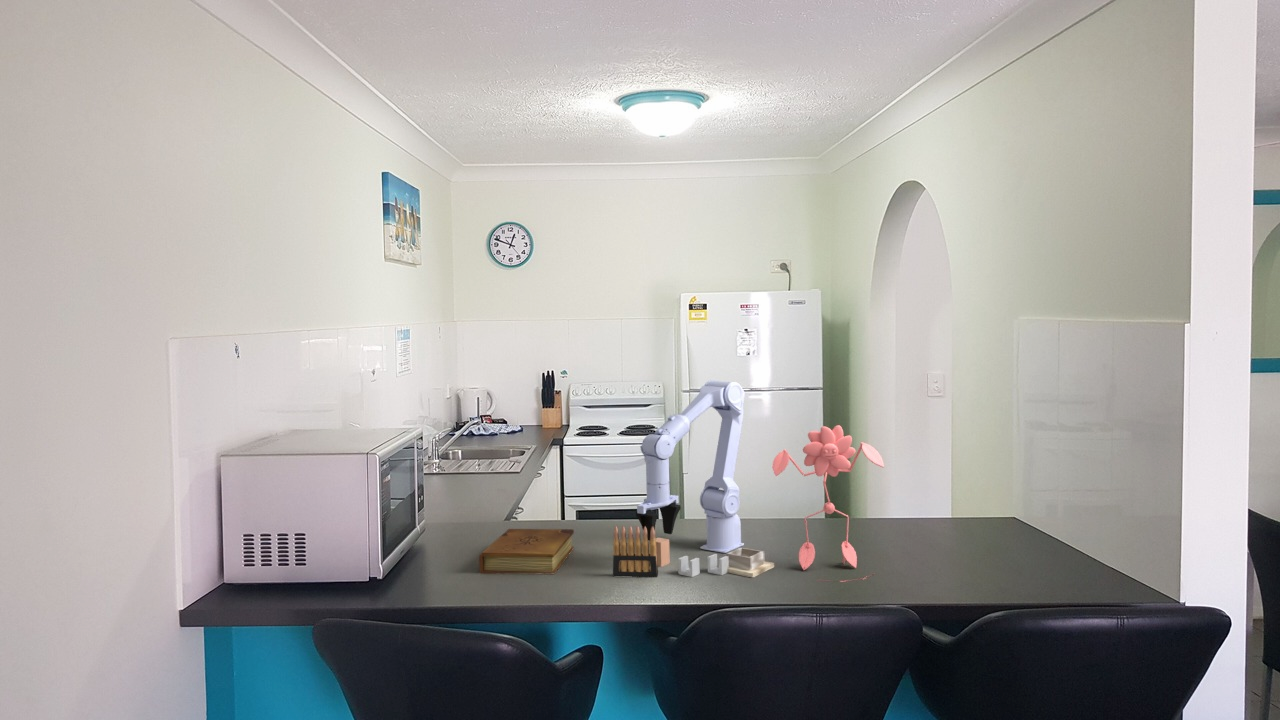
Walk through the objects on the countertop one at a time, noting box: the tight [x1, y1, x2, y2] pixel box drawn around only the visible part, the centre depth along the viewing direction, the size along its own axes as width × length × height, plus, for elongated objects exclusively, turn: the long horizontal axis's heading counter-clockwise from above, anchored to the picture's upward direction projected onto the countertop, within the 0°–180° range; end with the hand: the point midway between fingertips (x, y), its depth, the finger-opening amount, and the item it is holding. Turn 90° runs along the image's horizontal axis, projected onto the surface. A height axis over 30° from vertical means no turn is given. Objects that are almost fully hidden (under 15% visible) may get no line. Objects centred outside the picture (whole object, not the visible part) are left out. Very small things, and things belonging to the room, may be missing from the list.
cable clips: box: [677, 553, 729, 578], centre depth 205 cm, size 8×9×4 cm
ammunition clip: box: [612, 525, 659, 578], centre depth 204 cm, size 11×2×12 cm, turn 82°
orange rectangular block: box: [655, 537, 671, 568], centre depth 213 cm, size 4×4×6 cm
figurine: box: [772, 425, 885, 583], centre depth 202 cm, size 15×26×35 cm, turn 90°
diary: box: [478, 528, 575, 574], centre depth 219 cm, size 23×19×6 cm
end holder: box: [717, 546, 775, 578], centre depth 207 cm, size 10×10×4 cm
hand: (659, 536), depth 213 cm, fingers open, 7 cm apart
